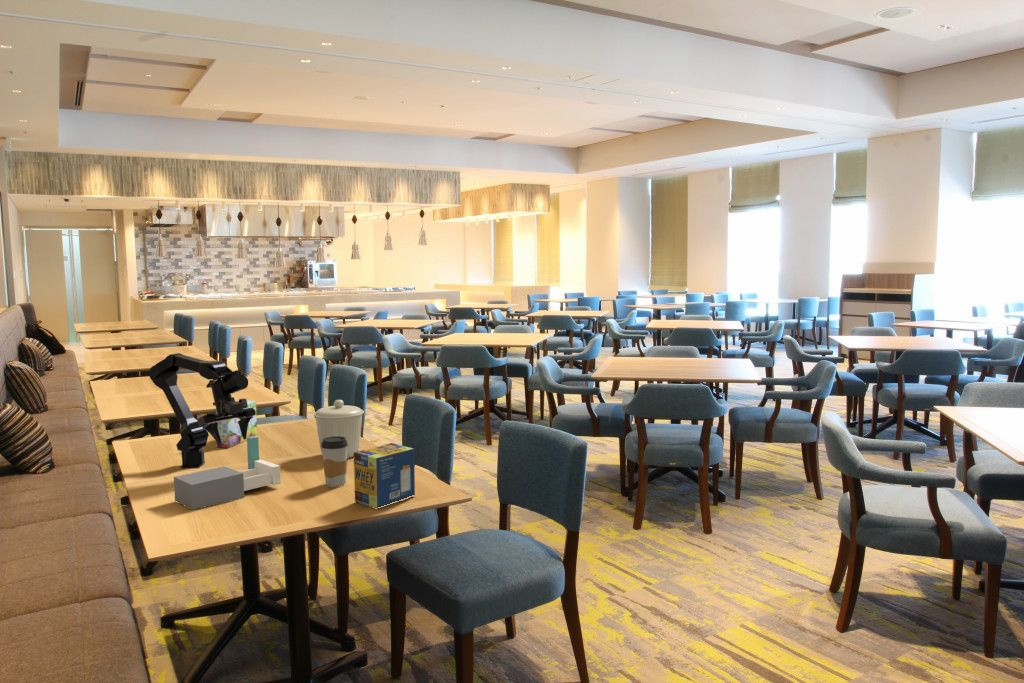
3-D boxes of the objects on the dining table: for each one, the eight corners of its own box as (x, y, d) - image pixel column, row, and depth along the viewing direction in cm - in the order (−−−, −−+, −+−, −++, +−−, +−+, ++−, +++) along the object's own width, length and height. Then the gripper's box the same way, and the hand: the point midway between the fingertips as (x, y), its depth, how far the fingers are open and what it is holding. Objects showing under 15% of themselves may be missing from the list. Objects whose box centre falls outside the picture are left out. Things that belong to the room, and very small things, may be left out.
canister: (311, 453, 289) (309, 397, 287) (358, 447, 297) (357, 393, 294) (320, 464, 273) (318, 406, 271) (370, 459, 280) (368, 401, 278)
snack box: (229, 448, 297) (227, 410, 295) (216, 448, 298) (214, 409, 296) (258, 436, 318) (256, 400, 316) (245, 435, 319) (244, 399, 317)
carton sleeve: (193, 510, 225) (191, 484, 224) (175, 501, 233) (173, 477, 232) (244, 497, 236) (243, 473, 235) (225, 489, 244) (224, 466, 243)
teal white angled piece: (229, 495, 233) (227, 453, 231) (205, 485, 244) (203, 445, 242) (280, 483, 245) (278, 443, 244) (255, 474, 256) (253, 435, 255)
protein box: (354, 502, 231) (352, 452, 229) (393, 490, 242) (392, 442, 241) (376, 510, 224) (375, 458, 222) (416, 497, 236) (415, 447, 234)
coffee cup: (353, 481, 252) (352, 437, 250) (340, 489, 244) (338, 442, 242) (331, 479, 255) (330, 435, 253) (317, 486, 247) (315, 440, 245)
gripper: (207, 395, 251) (217, 441, 249) (258, 387, 265) (269, 432, 263) (192, 403, 258) (202, 448, 256) (243, 395, 272) (252, 438, 270)
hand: (232, 441), depth 261 cm, fingers open, 9 cm apart
